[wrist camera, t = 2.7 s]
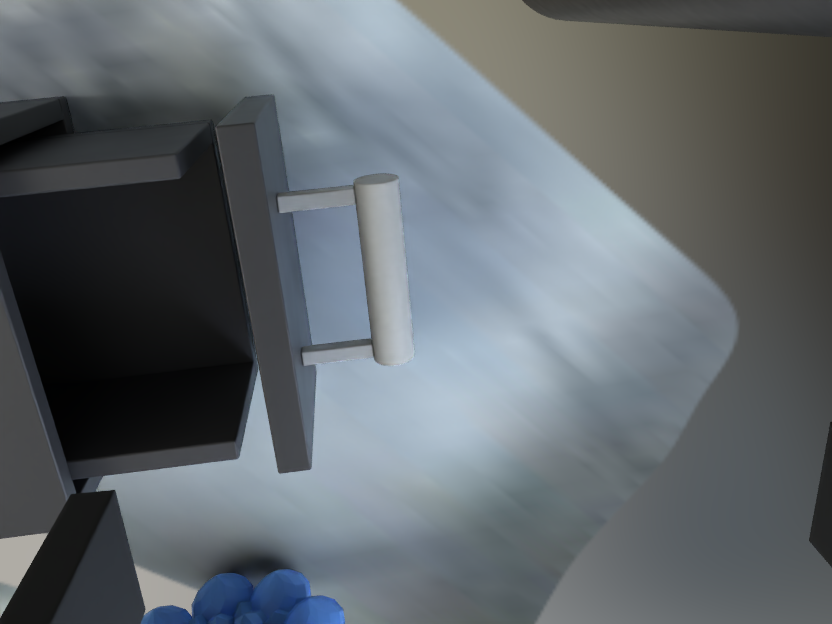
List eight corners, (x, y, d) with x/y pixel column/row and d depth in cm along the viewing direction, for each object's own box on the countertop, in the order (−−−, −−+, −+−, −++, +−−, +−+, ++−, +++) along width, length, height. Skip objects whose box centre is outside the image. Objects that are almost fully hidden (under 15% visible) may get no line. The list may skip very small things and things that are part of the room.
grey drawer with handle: (382, 83, 30) (397, 107, 23) (409, 361, 34) (429, 455, 27) (-106, 130, 29) (-255, 172, 21) (-9, 412, 33) (-103, 523, 26)
